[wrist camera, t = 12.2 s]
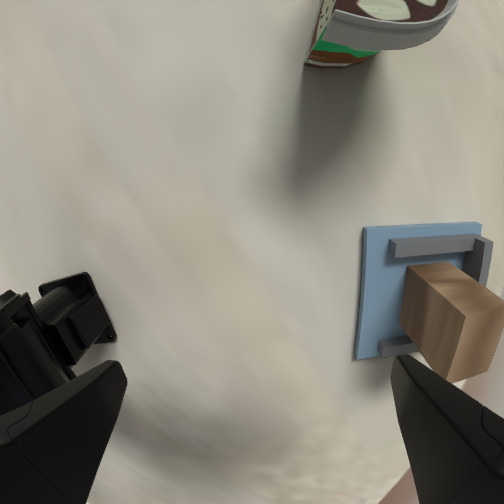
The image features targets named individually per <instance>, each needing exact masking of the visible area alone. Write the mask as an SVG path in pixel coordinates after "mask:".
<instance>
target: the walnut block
mask: <svg viewBox="0 0 504 504" xmlns="http://www.w3.org/2000/svg"><path fill="white" fill-rule="evenodd" d="M399 324H400V326H401V327H402V328H403V330H404V331H405V332H406V334H407V335H408V336H409V338H410V339H411V340H412V342H413V343H414V345H415V346H416V347H417V349H418V350H419V351H420V353H421V354H422V356H423V357H424V358H425V360H426V361H427V363H428V364H429V366H430V367H431V368H432V370H433V371H434V372H435V373H437V374H438V375H440V376H441V377H443V378H444V379H446V380H447V381H449V382H450V383H451V384H452V383H455V382H458V381H461V380H464V379H467V378H470V377H473V376H475V375H478V374H481V373H484V372H486V371H488V369H489V366H490V364H491V361H492V359H493V356H494V353H495V351H496V348H497V345H498V342H499V339H500V337H501V333H502V331H503V327H504V300H502V299H501V298H500V297H498V296H497V295H496V294H494V293H493V292H491V291H490V290H489V289H487V288H486V287H484V286H483V285H482V284H480V283H479V282H477V281H476V280H474V279H473V278H472V277H470V276H469V275H467V274H466V273H464V272H463V271H461V270H460V269H458V268H457V267H455V266H454V265H452V264H451V263H449V262H438V263H429V264H418V265H408V266H407V268H406V278H405V286H404V294H403V301H402V308H401V314H400V320H399Z"/></svg>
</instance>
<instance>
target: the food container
mask: <svg viewBox="0 0 504 504" xmlns="http://www.w3.org/2000/svg"><path fill="white" fill-rule="evenodd" d="M457 5H458V0H320V4H319V8H318V11H317V15H316V19H315V23H314V27H313V30H312V34H311V38H310V42H309V45H308V49H307V53H306V57H305V61H304V64H303V65H308V66H313V67H317V68H344V67H348V66H352V65H355V64H359V63H361V62H363V61H364V60H366V59H368V58H370V57H371V56H373V55H375V54H377V53H379V52H380V51H382V50H400V49H406V48H411V47H415V46H418V45H421V44H423V43H425V42H427V41H430V40H431V39H432V38H433V37H435V36H436V35H437V34H439V33H440V31H441V30H442V29H443V27H444V26H445V25H446V23H447V22H448V21H449V19H450V18H451V17H452V15H453V14H454V13H455V10H456V7H457Z"/></svg>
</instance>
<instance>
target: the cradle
mask: <svg viewBox="0 0 504 504" xmlns="http://www.w3.org/2000/svg"><path fill="white" fill-rule="evenodd" d="M481 227H482V224H480V223H477V222H465V223H439V224H415V225H394V226H374V227H363V262H362V281H361V296H360V308H359V319H358V329H357V338H356V347H355V356H356V359H357V360H358V359H365V358H371V357H377V356H381V357H382V358H385V357H391V356H396V355H401V354H406V353H411V352H416V351H419V350H418V349H417V347H416V346H415V345H414V343H413V342H412V340H411V339H410V338H409V336H408V335H407V334H406V332H405V331H404V330H403V328H402V327H401V326H400V324H399V320H400V314H401V308H402V301H403V294H404V286H405V278H406V268H407V266H408V265H418V264H429V263H438V262H449V263H451V264H452V265H454V266H455V267H457V268H458V269H460V270H461V271H463V272H464V273H466V274H467V275H469V276H470V277H472V278H473V279H474V280H476V281H477V282H479V283H480V284H482V285H483V286H484V287H486V283H487V278H488V273H489V267H490V261H491V255H492V248H493V242H492V241H490V240H488V239H486V238H484V237H482V236H481Z"/></svg>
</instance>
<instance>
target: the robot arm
mask: <svg viewBox="0 0 504 504" xmlns="http://www.w3.org/2000/svg"><path fill="white" fill-rule="evenodd" d="M83 277H85V278H86V280H84V278H83ZM43 289H44V290H43ZM39 292H40V295H41V297H42V298H41V299H39V300H38V301H37V302H35V303H34V304H33V305H32V303H31V301H30V297H29V295H28V293H27V292H26V293H24V294H22V295H20V294H16V293H14V292H13V291H12V290H8V291H6V292H5V293H3V294H2V295H0V504H86V502H87V499H88V496H89V493H90V490H91V487H92V484H93V482H94V479H95V476H96V473H97V470H98V468H99V465H100V462H101V460H102V457H103V454H104V452H105V449H106V446H107V444H108V441H109V439H110V436H111V434H112V431H113V429H114V426H115V423H116V421H117V418H118V415H119V411H120V408H121V404H122V401H123V397H124V394H125V390H126V387H127V378H126V375H125V373H124V371H123V368H122V366H121V364H120V363H119V362H118V361H114V360H107V361H105V362H104V363H102V364H100V365H98V366H96V367H95V368H93V369H91V370H89V371H87V372H85V373H84V374H82V375H80V376H78V377H76V375H75V374H74V372H73V371H72V370H71V368H72V367H73V366H74V365H76V364H77V362H78V361H79V360H80V359H81V357H82V356H83V355H84V353H85V352H86V351H87V350H88V349H89V348H90V347H91V346H92V344H99V343H107V342H113V341H114V340H115V339H116V333H115V331H114V329H113V327H112V325H111V323H110V320H109V318H108V316H107V314H106V312H105V310H104V307H103V305H102V303H101V301H100V298H99V296H98V294H97V292H96V289H95V287H94V285H93V282H92V280H91V277H90V275H89V274H88V273H87V272H82V273H78V274H75V275H71V276H68V277H64V278H61V279H58V280H54V281H51V282H47V283H44V284H42V285H40V286H39ZM110 335H111V336H112V337H111V336H110ZM391 385H392V390H393V396H394V401H395V407H396V412H397V418H398V423H399V426H400V430H401V433H402V437H403V440H404V444H405V447H406V451H407V455H408V458H409V462H410V466H411V470H412V473H413V478H414V482H415V486H416V490H417V494H418V499H419V503H420V504H504V419H503V418H502V417H500V416H499V415H497V414H495V413H494V412H492V411H491V410H490V409H488V408H487V407H485V406H482V404H481V403H479V402H478V401H476V400H475V399H473V398H472V397H470V396H469V395H468V394H466V393H465V392H463V391H462V390H460V389H459V388H457V387H456V386H454V385H453V384H451V383H450V382H449V381H447V380H446V379H444V378H443V377H441V376H440V375H438V374H437V373H435V372H434V371H432V370H431V369H429V368H428V367H427V366H425V365H424V364H422V363H421V362H419V361H418V360H416V359H415V358H413V357H412V356H410V355H409V354H402V355H397V356H396V357H395V358H394V362H393V367H392V372H391Z"/></svg>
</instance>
